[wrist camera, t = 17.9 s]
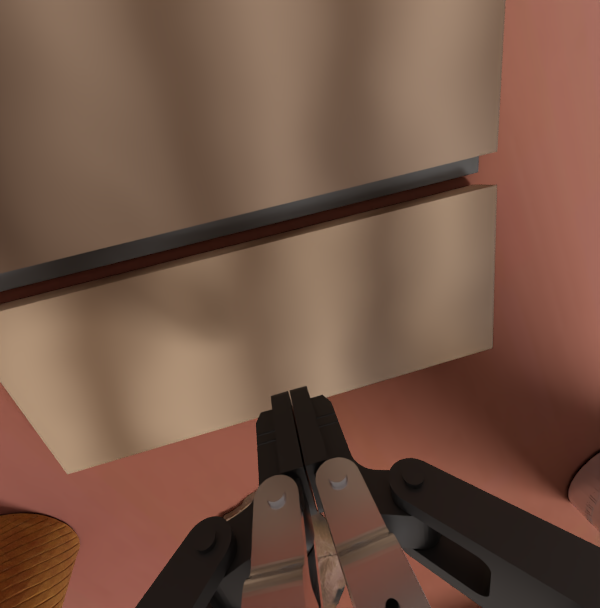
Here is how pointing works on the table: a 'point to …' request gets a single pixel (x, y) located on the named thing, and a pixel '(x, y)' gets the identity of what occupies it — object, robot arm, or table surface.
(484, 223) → the board
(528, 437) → the table surface
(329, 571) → the flat brown piece
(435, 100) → the floor board
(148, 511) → the table surface
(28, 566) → the disposable coffee cup
